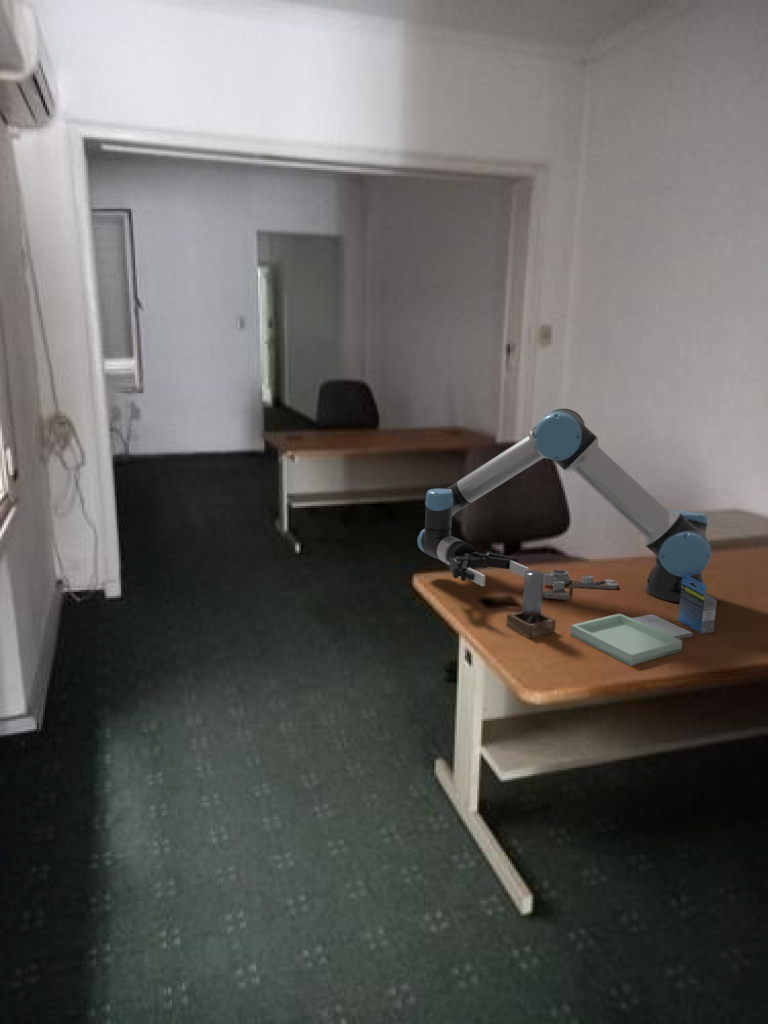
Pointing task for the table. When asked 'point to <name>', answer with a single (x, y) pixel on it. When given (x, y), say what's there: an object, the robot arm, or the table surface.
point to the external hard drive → (664, 626)
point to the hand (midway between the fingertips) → (506, 577)
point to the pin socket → (531, 625)
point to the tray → (626, 639)
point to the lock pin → (532, 596)
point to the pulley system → (562, 578)
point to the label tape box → (696, 606)
